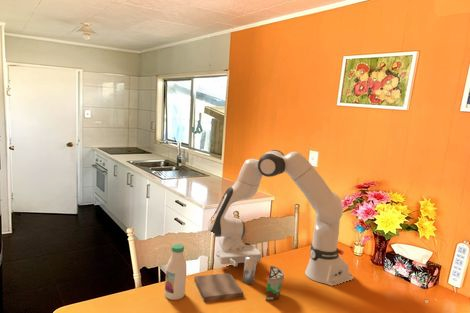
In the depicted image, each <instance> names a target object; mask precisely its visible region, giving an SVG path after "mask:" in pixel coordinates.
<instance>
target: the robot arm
mask: <svg viewBox="0 0 470 313" xmlns="http://www.w3.org/2000/svg"><path fill="white" fill-rule="evenodd" d="M314 167H315V166H313V165H312V163H311V162H310V161H309V160H308V159H307V158H306V157H305V156H303V155H302V153H300V152H299V151H291V152H288V153H287V154H286V155H285V153H283V152H282V151H280V150H276V149H273V150H269V151H266V152H265V153H264V154H263V155H262V156H260V157H259V159H256V158H248V159H246V160H245V161H244V163H243V165H242V166H241V168H240V171H239V173H238V176H237V179H236V180H235V182H234V184H233V185H232V186H230V187H228V188H227V189H226V191H225V192H224V194H223V196H222V197H221V200H220V201H219V204H218V206H217V208H216V210H215V212H214V213H213V215H212V217H211V218H210V219H209V222H208V225H207V230H208V232H209V231H211V232H213V233H215V238H216V237H217V238H218V244H219V246H220V248H221V250H220V251H218V252H215V255H216V257H218V261H219V263H220V264H221V265H232V266H233V267H238V266H239V265H238V264H241V263H245V256H246V255H253V256H255V257H256V258H257V259H256V265H258V262H260V261H261V260H262V256H263V255H262V252H261V251H260V250H259V249H258V248H257V247H255V246H254V245H253V243H247V242H242V240H243V239H244V237H245V236H246V235H245V234H246V225H245V222H244V220H243V219H241V218H237V217H227V216H226V214H227V212H228V210H229V208H230V207H231V205H233V204H234V203H237V202H239V201H240V202H241V201H244V200H248V199H250V198H253V197H254V196H255V195H256V194H257V192H258V190H259V187H260V184H261V180H262V178H263V176H264V177H268V178H272V177H275V176H276V177H277V176H278V175H280V174H283V173H286V174H287V175H288V176H289V177H290V179H291V181H293V182H294V184H295V185H296V186H297V188H298V189H300V191H301V192H302V194H303V196H304V197H305V198H306V200H307V201H308V203H309V204H310V205H311V207H312V209H313V210H314V211H315V219H314V228H313V229H314V230H313V236H312V243H311V245H310V250H309V252H310V253H309V254H310V256H309V260H308V263H307V266H306V269H305V271H304V273H305V276H306V277H307V278H309V279H310V280H312V281H314V282H317V283H322V284H326V285H329V286H331V287H332V286H333V285H334V286H337V284H338V285H340V283H341V284H344V283H347V282H346V281H348V282H350V281H349V280H351V281H353V280H354V276H353V274H352V273H351V272H350V267H349V265H348V263H347V262H346V261H345V260H344V259H343V258H342V257H341V256H343V255H344V254H345V252H344V250H342V249H339V248H338V244H339V243H338V241H339V236H340V223H341V222H340V221H341V218H342V216H343V214H344V207H343V203H342V200H341V198H340V196H339V195H338V194H336V193H335V192H332V190H331V189H330V187H329V186H328V184H327V183H326V182H325V180H324V178H323V177H322V176H321V175H320V174H319V172H318V171H317V170H316V168H314ZM213 217H214V219H215V223H213V224H211V219H212V218H213ZM211 226H212V228H211ZM340 255H341V256H340ZM352 279H353V280H352ZM343 282H344V283H343Z"/></svg>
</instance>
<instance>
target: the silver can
mask: <svg viewBox="0 0 470 313" xmlns="http://www.w3.org/2000/svg"><path fill="white" fill-rule="evenodd" d="M256 259H257V258H256V257H255V256H253V255H246V256H245V262H244V264H243V274H242V282H243V283H244V284H246V285H253V284H254V283H255V280H256V279H255V277H256V268H257V264H256Z"/></svg>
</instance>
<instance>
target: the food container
mask: <svg viewBox="0 0 470 313" xmlns="http://www.w3.org/2000/svg"><path fill="white" fill-rule="evenodd" d="M284 281H285V274H284V272H283V270H282V269H281V268H279V267H277V266H274V265H270V268H269V273H268V278H267V285H266V292H265V293H266V294H265V301H266V302H275V301H277V300H279V298H280V294H281V289H282V284H283V282H284Z"/></svg>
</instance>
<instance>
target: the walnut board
mask: <svg viewBox="0 0 470 313" xmlns="http://www.w3.org/2000/svg"><path fill="white" fill-rule="evenodd" d="M193 281H194V283H195V286H196V287H197V289H198V290H197V291H199V293H200V296H201V298H202V300H203V302H205V303H208V302H215V301H222V300H231V299H239V298H243V297H244V291H243V290H242V288H241V287H240V285H239V284H238V282H237V281H236V279H235V278H234V277H233V275H232V274H231V272H226V273H216V274H206V275H205V274H204V275H196V276H195V275H194V278H193Z"/></svg>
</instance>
